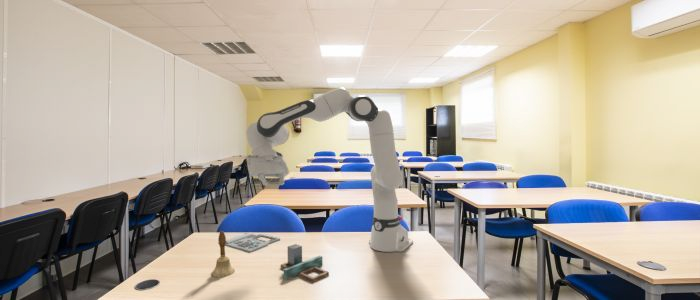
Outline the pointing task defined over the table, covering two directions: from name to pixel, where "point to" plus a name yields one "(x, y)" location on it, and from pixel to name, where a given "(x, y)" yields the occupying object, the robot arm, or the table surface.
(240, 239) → the office telephone
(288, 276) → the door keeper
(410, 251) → the table surface
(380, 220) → the robot arm
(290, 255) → the gray block
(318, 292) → the table surface
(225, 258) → the hand bell
